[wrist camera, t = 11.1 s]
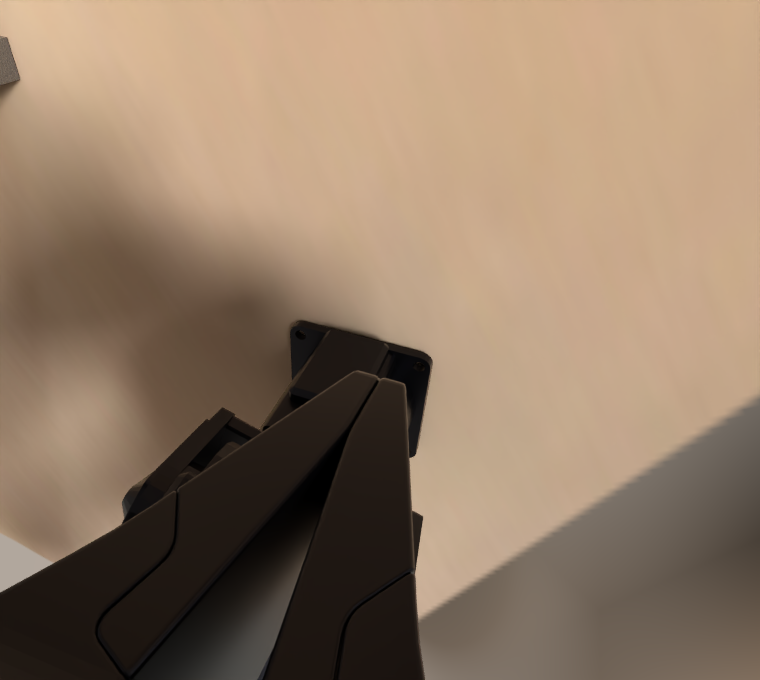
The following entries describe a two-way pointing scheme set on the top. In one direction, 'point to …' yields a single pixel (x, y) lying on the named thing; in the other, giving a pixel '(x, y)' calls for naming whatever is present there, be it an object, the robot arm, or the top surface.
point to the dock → (7, 63)
